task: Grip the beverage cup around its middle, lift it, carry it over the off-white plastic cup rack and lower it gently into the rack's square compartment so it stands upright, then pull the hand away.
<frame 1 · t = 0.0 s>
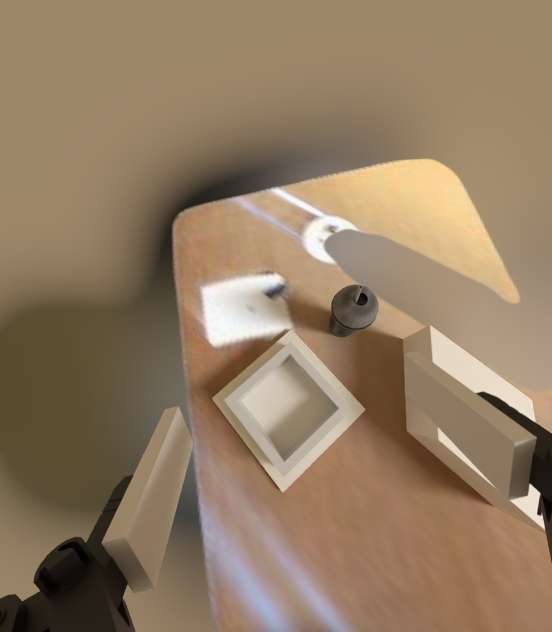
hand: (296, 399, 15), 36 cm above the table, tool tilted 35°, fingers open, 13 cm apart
block: (443, 414, 48), on the table
beverage cup: (340, 326, 53), on the table
cup rack: (287, 403, 49), on the table
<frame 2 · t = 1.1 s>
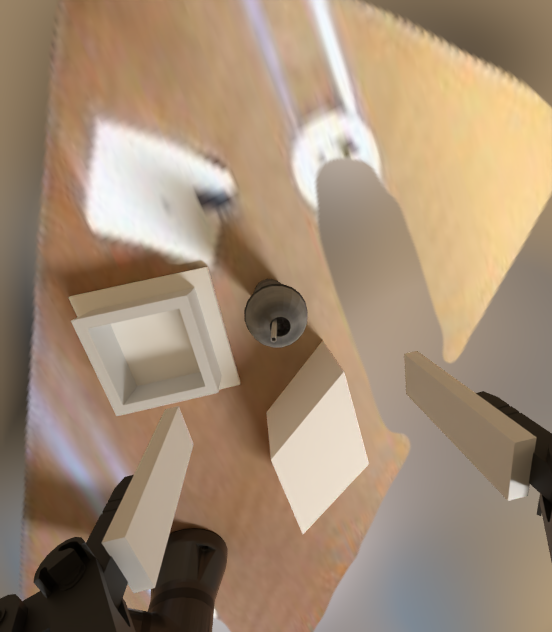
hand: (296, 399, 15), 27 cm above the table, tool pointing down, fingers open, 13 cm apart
block: (306, 413, 49), on the table
beverage cup: (269, 293, 41), on the table
cup rack: (163, 342, 42), on the table
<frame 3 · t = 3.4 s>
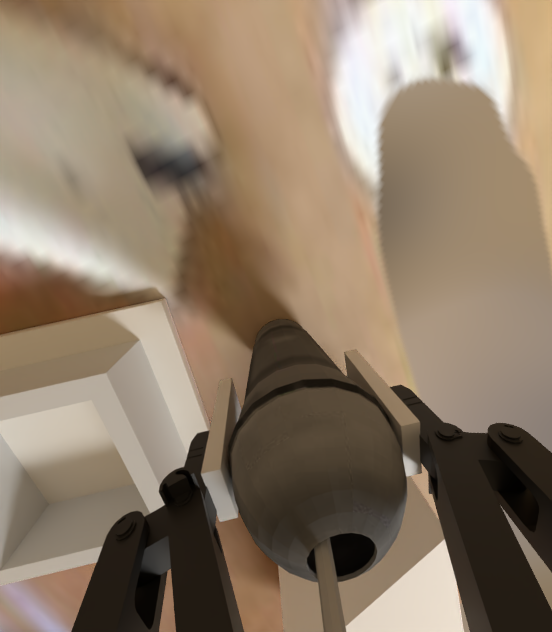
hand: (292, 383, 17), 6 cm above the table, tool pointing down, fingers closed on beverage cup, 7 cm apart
block: (338, 523, 30), on the table
beverage cup: (281, 343, 23), on the table, touching gripper
cup rack: (92, 429, 23), on the table
when the fingers open (9 cm above the table, at t = 11.4 s): beverage cup drops 2 cm, resting on cup rack.
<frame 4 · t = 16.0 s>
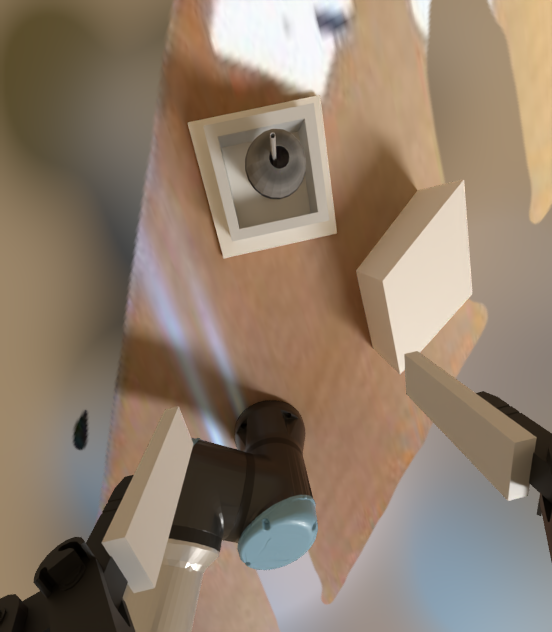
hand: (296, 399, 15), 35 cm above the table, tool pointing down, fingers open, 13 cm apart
block: (392, 275, 50), on the table
beverage cup: (269, 182, 42), point 1 cm above the table, touching cup rack
cup rack: (267, 183, 43), on the table
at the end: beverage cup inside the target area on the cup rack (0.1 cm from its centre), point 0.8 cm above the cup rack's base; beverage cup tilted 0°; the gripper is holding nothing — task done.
